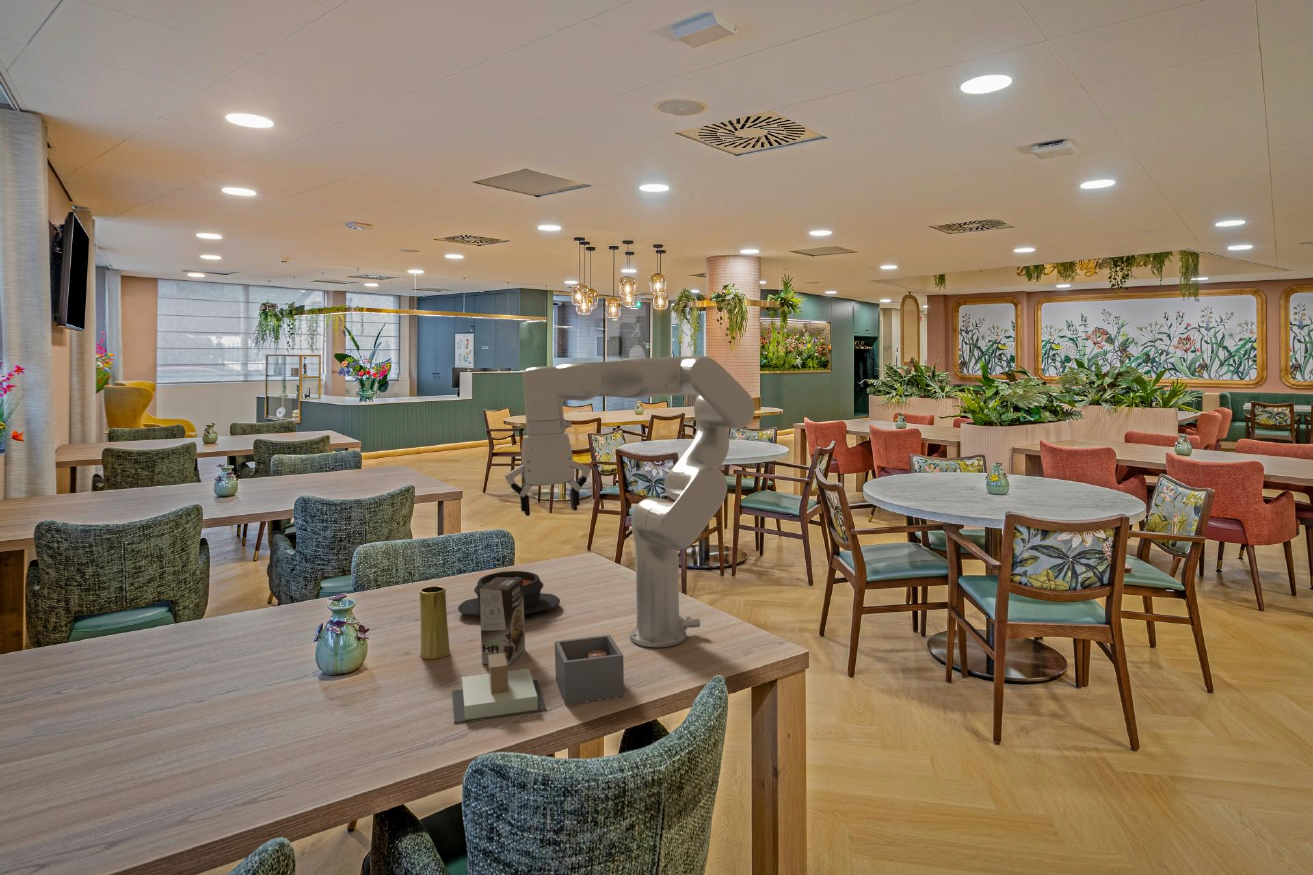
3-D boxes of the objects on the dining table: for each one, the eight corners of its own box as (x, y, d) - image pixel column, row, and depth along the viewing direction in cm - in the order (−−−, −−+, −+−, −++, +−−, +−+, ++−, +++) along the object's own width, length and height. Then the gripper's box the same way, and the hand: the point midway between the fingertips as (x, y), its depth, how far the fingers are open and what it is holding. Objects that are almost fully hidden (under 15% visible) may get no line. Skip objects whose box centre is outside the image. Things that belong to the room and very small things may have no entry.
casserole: (455, 628, 178) (454, 593, 177) (460, 603, 196) (459, 571, 196) (562, 620, 183) (561, 586, 182) (558, 596, 201) (557, 565, 200)
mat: (537, 681, 148) (537, 679, 148) (546, 710, 136) (546, 708, 136) (452, 692, 144) (452, 690, 144) (454, 723, 131) (454, 722, 131)
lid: (529, 681, 148) (527, 643, 147) (537, 709, 136) (536, 669, 135) (462, 689, 144) (460, 651, 143) (465, 719, 132) (463, 678, 131)
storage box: (610, 673, 151) (609, 634, 151) (624, 696, 141) (623, 655, 140) (555, 680, 148) (554, 641, 147) (565, 705, 138) (564, 662, 137)
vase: (434, 662, 158) (431, 595, 157) (414, 656, 162) (411, 591, 160) (456, 652, 164) (453, 587, 162) (436, 646, 167) (433, 583, 165)
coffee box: (510, 666, 156) (507, 589, 154) (480, 664, 157) (478, 588, 155) (526, 649, 165) (524, 576, 163) (498, 647, 166) (496, 575, 164)
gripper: (583, 423, 158) (588, 503, 161) (499, 430, 153) (505, 513, 155) (591, 426, 151) (596, 510, 153) (504, 433, 146) (510, 520, 148)
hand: (550, 511), depth 154 cm, fingers open, 9 cm apart
